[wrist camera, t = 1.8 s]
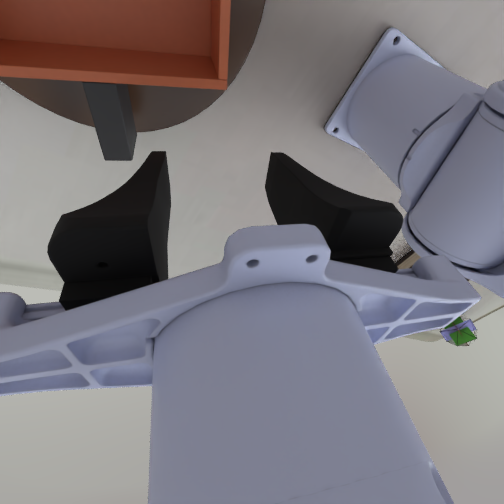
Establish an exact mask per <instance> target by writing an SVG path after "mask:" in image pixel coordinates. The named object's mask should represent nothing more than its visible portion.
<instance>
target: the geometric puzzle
mask: <svg viewBox="0 0 504 504" xmlns="http://www.w3.org/2000/svg"><path fill="white" fill-rule="evenodd" d="M460 317H461V316H459V317H458V318H456V319H455V320H454V321H453V322H451V323H450V324H449V325H447V326H446V327H444V328H445V330H443V331H441V330H440V331H439V332H440V333H441V334H442V335H443V337H444V338H445V340H446V341H447V342H449V343H452V344H454V345H456V346H469V345H468V344H467V342H469V341H472V340H474V339H477V337H475V335H474V334H473V333H472V331H474V330H476V328H475V326H474V324H473V323H472V321H471V319H469V320H467V321H465V320H464V319H463V320H464V322H463V320H462V319H461V318H460ZM466 319H467V318H466ZM441 329H442V328H441Z"/></svg>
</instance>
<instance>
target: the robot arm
mask: <svg viewBox="0 0 504 504" xmlns="http://www.w3.org/2000/svg"><path fill="white" fill-rule="evenodd" d="M395 37H397V40H396V42H395V43H394V44H393V40H394V38H395ZM335 128H337V130H336V131H334V132H333V130H334V129H335ZM325 131H326V132H327V133H328V134H330V135H332V136H334V137H336V138H338V139H340V140H342V141H345V142H347V143H349V144H351V145H353V146H355V147H357V148H359V149H361V150H363V151H365V152H366V153H367V154H368V155H369V157H370V158H371V159H372V160H373V161H374V162H375V163H376V164H377V165H378V166H379V167H380V169H381V170H382V171H383V172H384V173H385V174H386V175H387V176H388V177H389V178H390V179H391V180H392V182H393V183H394V184H395V185H396V186H397V187H398V188H399V189H400V190H401V197H400V200H399V202H398V203H399V204H400V205H401V206H402V207H403V208H404V209H405V211H406V212H407V214H406V216H405V217H404V219H403V216H402V214H401V213H400V212H399V211H398V210H397V208H396V207H395V206H394V205H393V204H392V203H388V202H384V201H379V200H374V199H370V198H367V197H363V196H360V195H357V194H354V193H351V192H348V191H346V190H343V189H341V188H339V187H336V186H334V185H332V184H330V183H328V182H326V181H324V180H323V179H321V178H319V177H318V176H316V175H315V174H313V173H311V172H310V171H308V170H307V169H306V168H304V167H303V166H301V165H300V164H299V163H297V162H296V161H294V160H293V159H292V158H290V157H289V156H287V155H286V154H284V153H273V152H271V155H270V161H269V167H268V172H267V178H266V184H265V189H266V194H267V198H268V202H269V204H270V207H271V210H272V212H273V215H274V217H275V219H276V222H277V224H278V225H270V226H251V227H247V228H243V229H239V230H237V231H236V232H235V233H233V234H232V235H231V236H229V237H228V239H227V242H226V244H225V248H224V258H223V260H222V262H220V263H219V264H215V265H212V266H209V267H206V268H203V269H199V270H196V271H193V272H190V273H187V274H183V275H180V276H177V277H174V278H170V279H168V254H167V242H168V230H169V219H170V209H171V195H170V182H169V174H168V165H167V157H166V151H152V152H151V153H150V155H149V156H148V157H147V159H146V160H145V162H144V163H143V164H142V166H141V167H140V168H139V169H138V171H137V172H136V173H135V174H134V175H133V176H132V177H131V178H130V179H129V180H128V181H127V182H126V183H125V184H124V185H122V186H121V187H120V188H119V189H117V190H116V191H114V192H113V193H111V194H109V195H108V196H106V197H105V198H103V199H101V200H99V201H97V202H95V203H93V204H91V205H88V206H86V207H84V208H81V209H78V210H75V211H72V212H70V213H67V214H63V215H62V216H61V218H60V219H59V221H58V223H57V225H56V227H55V229H54V231H53V234H52V237H51V239H50V242H49V244H48V252H47V253H48V255H49V258H50V260H51V262H52V263H53V265H54V267H55V268H56V270H57V271H58V273H59V275H60V276H61V278H62V279H63V281H64V282H65V283H64V286H63V289H62V292H61V296H60V299H59V302H51V303H40V304H30V305H26V303H25V301H24V300H23V299H22V298H21V297H20V296H19V295H17V294H15V293H11V292H0V396H5V395H13V394H22V393H32V392H42V391H57V390H72V389H73V390H74V389H94V388H117V387H138V386H152V408H151V409H152V410H151V435H150V463H149V489H148V504H454V502H453V500H452V498H451V496H450V494H449V493H448V491H447V489H446V487H445V485H444V483H443V481H442V479H441V477H440V475H439V473H438V471H437V469H436V467H435V465H434V463H433V461H432V459H431V458H430V456H429V454H428V451H427V449H426V448H425V446H424V444H423V442H422V440H421V438H420V436H419V434H418V432H417V430H416V428H415V426H414V424H413V422H412V420H411V418H410V416H409V414H408V412H407V410H406V408H405V406H404V404H403V402H402V400H401V398H400V396H399V394H398V392H397V390H396V388H395V386H394V384H393V382H392V380H391V378H390V376H389V374H388V372H387V370H386V368H385V366H384V364H383V363H382V361H381V358H380V356H379V354H378V352H377V351H376V348H375V347H374V345H375V344H378V343H382V342H385V341H388V340H392V339H395V338H399V337H403V336H407V335H410V334H414V333H419V332H423V331H428V330H433V329H439V328H444V327H446V326H447V325H449V324H450V323H451V322H453V321H454V320H455V319H456V318H458V317H459V316H460V315H461V314H463V313H464V312H465V311H467V310H468V309H469V308H470V307H472V306H473V305H474V304H476V303H477V302H478V301H479V300H481V296H480V295H479V294H478V292H477V291H476V290H475V289H474V288H473V287H472V286H471V284H470V283H469V282H468V281H467V280H466V279H465V278H467V279H470V280H472V281H474V282H476V283H478V284H480V285H482V286H484V287H486V288H487V289H489V290H491V291H492V292H494V293H495V294H497V295H498V296H500V297H502V298H504V80H502V81H498V82H495V83H493V84H492V85H490V86H489V88H488V89H486V88H484V87H482V86H480V85H478V84H476V83H473V82H471V81H469V80H467V79H465V78H463V77H461V76H458V75H456V74H454V73H452V72H450V71H448V70H446V69H445V68H444V67H443V66H441V65H440V64H439V63H438V62H437V61H435V60H434V59H433V58H432V57H430V56H429V55H428V54H427V53H426V52H424V51H423V50H422V49H421V48H420V47H418V46H417V45H416V44H415V43H413V42H412V41H411V40H410V39H409V38H407V37H406V36H405V35H404V34H403V33H401V32H400V31H399V30H398V29H396V28H393V27H391V28H389V29H387V31H386V32H385V33H384V35H383V36H382V38H381V39H380V41H379V42H378V44H377V46H376V47H375V49H374V50H373V52H372V53H371V55H370V57H369V58H368V60H367V61H366V63H365V64H364V66H363V67H362V69H361V71H360V72H359V74H358V75H357V77H356V78H355V80H354V81H353V83H352V85H351V86H350V88H349V89H348V91H347V92H346V94H345V95H344V97H343V99H342V100H341V102H340V103H339V105H338V106H337V108H336V110H335V111H334V113H333V114H332V116H331V117H330V119H329V120H328V122H327V124H326V125H325ZM401 228H402V233H403V236H404V238H405V239H406V241H407V243H408V244H409V245H410V247H411V248H412V249H413V250H414V251H415V252H416V253H417V254H418V255H419V256H420V257H421V258H420V259H418V260H417V261H416V262H415V263H414V265H413V266H412V268H408V269H399V268H398V267H397V266H396V264H395V263H394V261H393V260H392V258H391V257H390V256H391V255H392V254H393V252H392V250H391V249H390V247H389V246H390V245H391V243H392V242H393V240H394V239H395V237H396V236H397V234H398V233H399V231H400V229H401ZM464 277H465V278H464Z"/></svg>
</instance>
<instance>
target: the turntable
mask: <svg viewBox="0 0 504 504" xmlns="http://www.w3.org/2000/svg"><path fill="white" fill-rule="evenodd" d="M264 5H265V0H231V9H230V32H229V55H228V78H227V88H228V86H229V85H230V84H231V83H232V81H233V80H234V79H235V77H236V75H237V74H238V72H239V71H240V69H241V67H242V66H243V64H244V62H245V60H246V58H247V56H248V54H249V52H250V49H251V47H252V45H253V43H254V40H255V37H256V34H257V31H258V28H259V25H260V22H261V18H262V13H263V9H264ZM0 80H1V81H2V82H4V83H5V84H6V85H8V86H9V87H10V88H12V89H13V90H15V91H16V92H18V93H19V94H21V95H23V96H24V97H26V98H28V99H29V100H31V101H33V102H34V103H36V104H38V105H40V106H42V107H44V108H46V109H48V110H50V111H52V112H54V113H56V114H58V115H60V116H62V117H65V118H68V119H70V120H73V121H75V122H78V123H81V124H85V125H88V126H92V127H95V125H94V122H93V118H92V115H91V112H90V108H89V105H88V101H87V98H86V95H85V91H84V88H83V84H82V81H68V80H51V79H35V78H18V77H1V76H0ZM127 86H128V91H129V96H130V101H131V107H132V112H133V117H134V122H135V128H136V132H146V131H155V130H159V129H164V128H169V127H171V126H174V125H177V124H180V123H182V122H185V121H186V120H188V119H190V118H192V117H194V116H196V115H198V114H199V113H200V112H202V111H203V110H205V109H206V108H207V107H209V106H210V105H211V104H212V103H213V102H214V101H215V100H216V99H218V98H219V97H220V96H221V95H222V94H223V93H224V91H225V90H218V89H201V88H184V87H168V86H151V85H134V84H127Z"/></svg>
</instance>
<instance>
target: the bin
mask: <svg viewBox="0 0 504 504" xmlns="http://www.w3.org/2000/svg"><path fill="white" fill-rule="evenodd" d="M230 9H231V0H0V76H1V77H18V78H35V79H51V80H68V81H82V84H83V88H84V91H85V95H86V98H87V101H88V105H89V108H90V112H91V115H92V118H93V122H94V125H95V129H96V132H97V135H98V139H99V142H100V146H101V149H102V152H103V156H104V159H105V160H120V161H132V159H133V154H134V148H135V142H136V137H137V133H136V128H135V122H134V117H133V112H132V107H131V101H130V96H129V91H128V86H127V84H134V85H151V86H168V87H184V88H201V89H218V90H227V78H228V55H229V32H230Z"/></svg>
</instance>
